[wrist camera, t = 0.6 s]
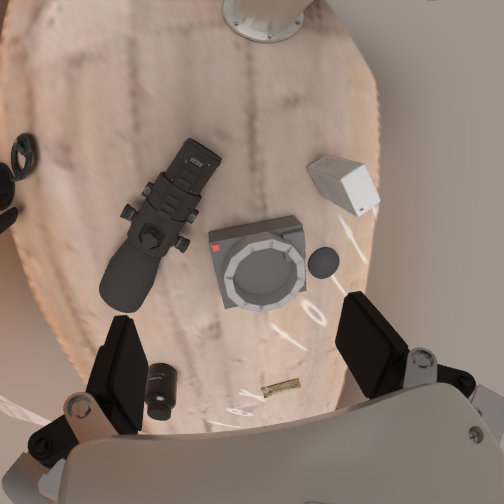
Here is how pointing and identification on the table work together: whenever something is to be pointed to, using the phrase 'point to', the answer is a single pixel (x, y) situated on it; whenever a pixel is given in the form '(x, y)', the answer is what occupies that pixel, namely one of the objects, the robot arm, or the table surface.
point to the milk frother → (13, 179)
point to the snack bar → (281, 388)
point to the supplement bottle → (161, 391)
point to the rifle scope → (157, 226)
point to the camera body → (260, 263)
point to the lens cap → (323, 263)
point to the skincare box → (344, 183)
